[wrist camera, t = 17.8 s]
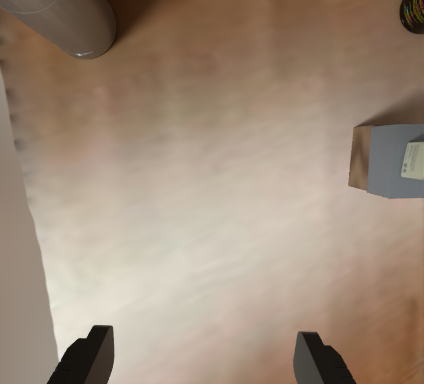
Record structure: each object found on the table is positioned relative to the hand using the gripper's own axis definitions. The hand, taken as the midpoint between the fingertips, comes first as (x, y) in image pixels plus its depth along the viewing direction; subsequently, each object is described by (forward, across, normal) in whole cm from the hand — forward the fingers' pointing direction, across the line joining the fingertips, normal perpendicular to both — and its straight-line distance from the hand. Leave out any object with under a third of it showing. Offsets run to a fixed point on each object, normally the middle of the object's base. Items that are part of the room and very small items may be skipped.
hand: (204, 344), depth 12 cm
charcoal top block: (+29, -27, -5) cm, 40 cm away
